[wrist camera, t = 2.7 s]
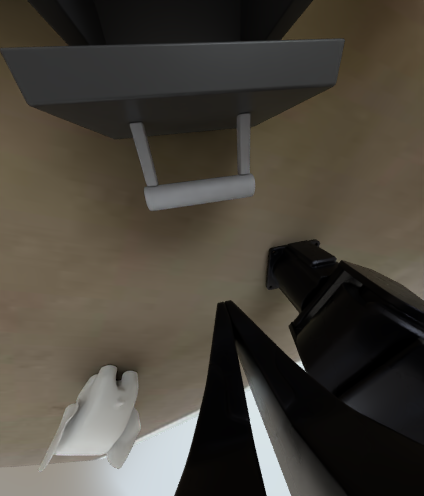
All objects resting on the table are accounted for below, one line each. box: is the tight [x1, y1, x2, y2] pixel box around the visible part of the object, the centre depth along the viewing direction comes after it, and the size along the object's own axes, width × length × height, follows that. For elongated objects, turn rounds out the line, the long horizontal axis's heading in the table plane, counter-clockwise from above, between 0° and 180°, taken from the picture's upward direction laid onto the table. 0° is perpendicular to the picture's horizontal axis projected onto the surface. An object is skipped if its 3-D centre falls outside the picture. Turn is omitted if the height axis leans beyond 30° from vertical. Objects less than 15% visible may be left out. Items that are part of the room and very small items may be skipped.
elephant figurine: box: [38, 365, 141, 472], centre depth 21 cm, size 10×12×9 cm
